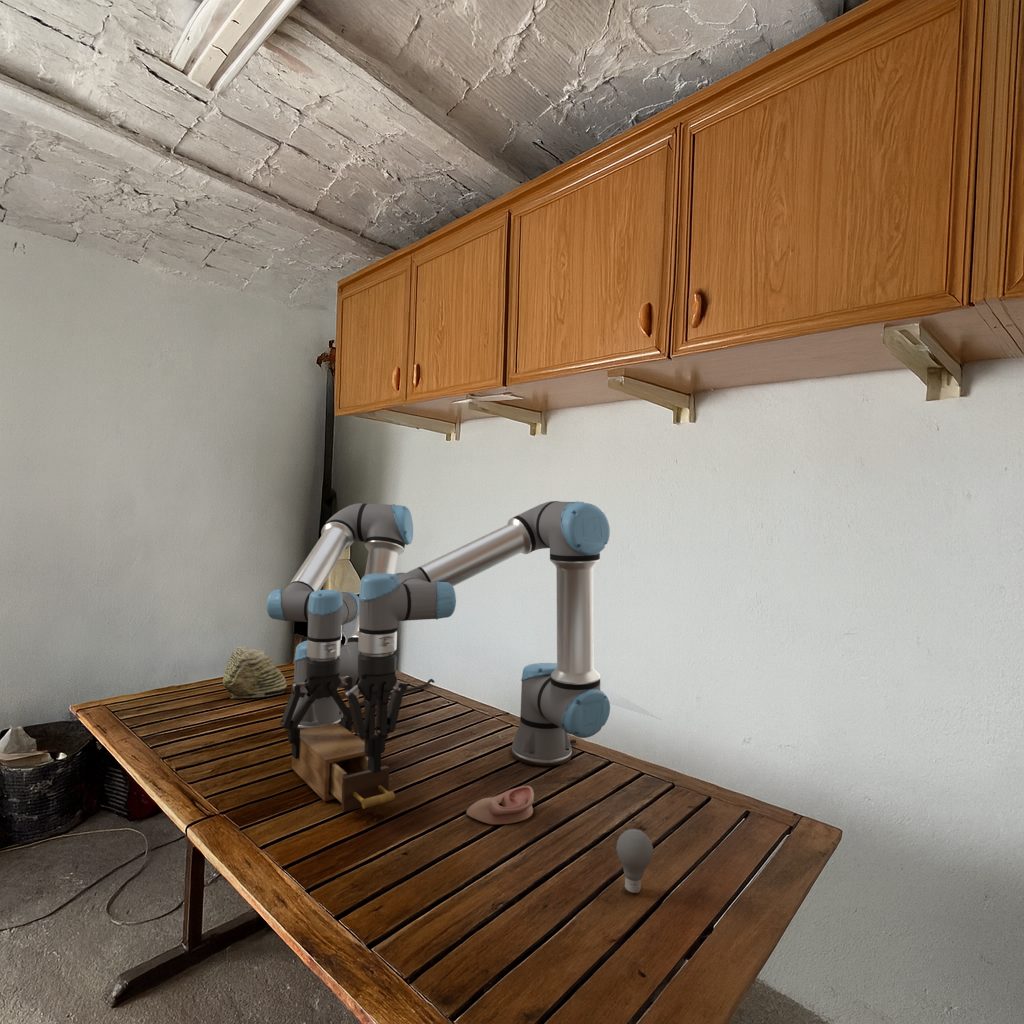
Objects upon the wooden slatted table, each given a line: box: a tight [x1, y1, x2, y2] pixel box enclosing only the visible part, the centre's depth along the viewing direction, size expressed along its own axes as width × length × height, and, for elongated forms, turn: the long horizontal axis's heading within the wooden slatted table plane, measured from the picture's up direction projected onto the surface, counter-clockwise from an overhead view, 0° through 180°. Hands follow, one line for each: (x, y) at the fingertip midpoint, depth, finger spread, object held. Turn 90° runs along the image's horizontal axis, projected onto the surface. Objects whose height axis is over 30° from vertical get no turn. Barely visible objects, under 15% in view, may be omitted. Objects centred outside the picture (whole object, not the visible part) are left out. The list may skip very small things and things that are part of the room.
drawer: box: [329, 755, 396, 813], centre depth 133 cm, size 25×10×7 cm, turn 38°
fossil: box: [222, 646, 288, 699], centre depth 198 cm, size 9×18×15 cm, turn 132°
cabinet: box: [291, 723, 366, 802], centre depth 142 cm, size 20×11×9 cm, turn 38°
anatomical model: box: [465, 785, 535, 825], centre depth 130 cm, size 13×4×12 cm
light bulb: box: [615, 828, 654, 894], centre depth 106 cm, size 6×6×10 cm
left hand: (320, 751), depth 148 cm, fingers closed on cabinet, 11 cm apart
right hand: (374, 769), depth 126 cm, fingers closed
